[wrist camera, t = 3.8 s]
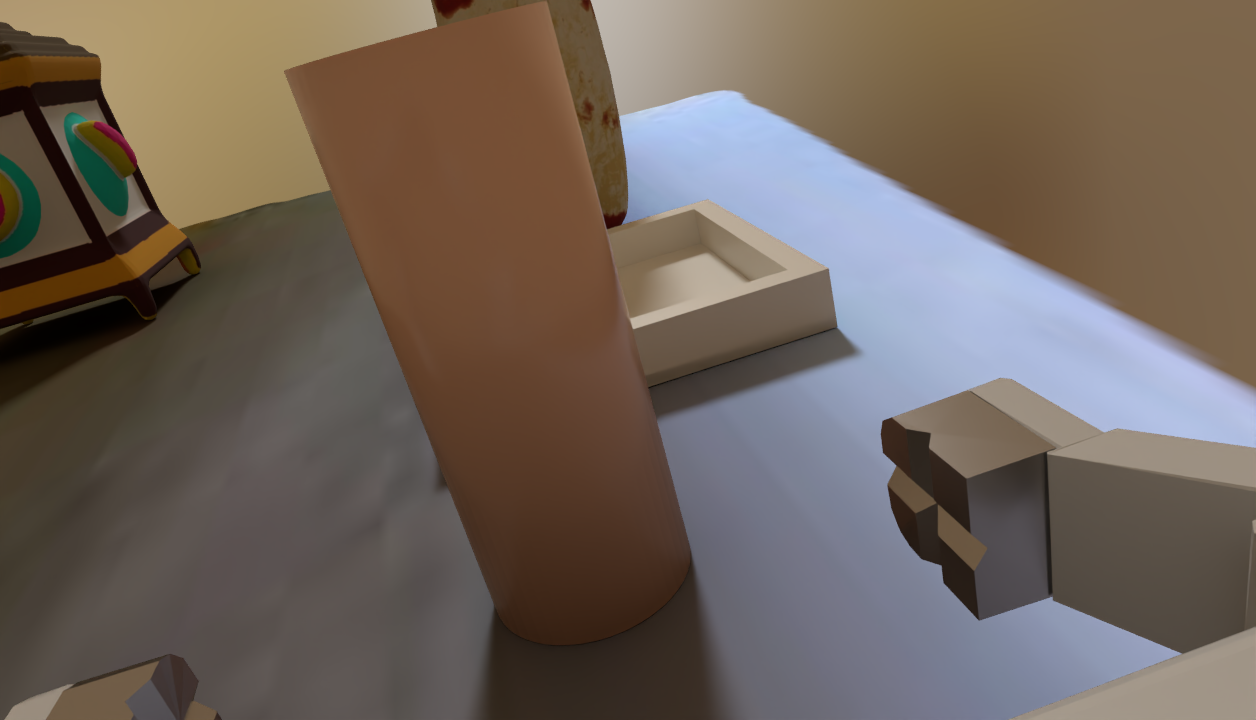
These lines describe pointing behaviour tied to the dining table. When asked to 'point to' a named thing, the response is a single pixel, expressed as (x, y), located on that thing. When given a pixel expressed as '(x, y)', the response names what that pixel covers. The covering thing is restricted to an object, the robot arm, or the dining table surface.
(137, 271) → the decorative lantern
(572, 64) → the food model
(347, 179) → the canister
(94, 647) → the dining table surface
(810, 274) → the bin
